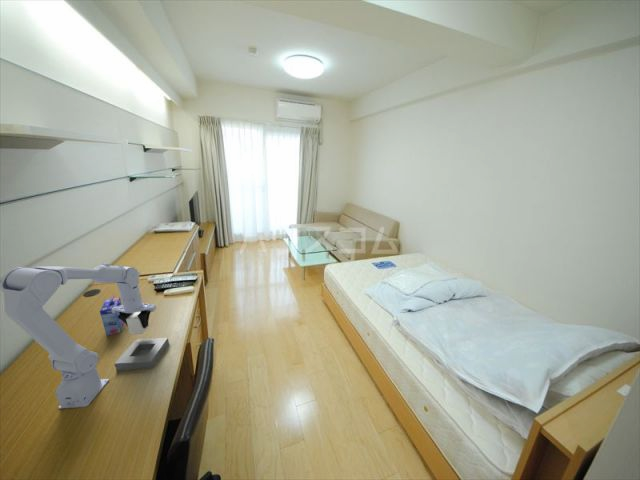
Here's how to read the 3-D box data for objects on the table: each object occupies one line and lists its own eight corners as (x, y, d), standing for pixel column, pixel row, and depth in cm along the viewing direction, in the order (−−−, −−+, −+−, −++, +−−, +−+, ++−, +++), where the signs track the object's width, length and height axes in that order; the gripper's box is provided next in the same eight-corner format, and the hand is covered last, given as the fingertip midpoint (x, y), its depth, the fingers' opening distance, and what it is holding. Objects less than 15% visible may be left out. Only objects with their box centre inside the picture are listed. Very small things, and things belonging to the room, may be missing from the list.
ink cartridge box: (122, 332, 104) (114, 303, 99) (106, 336, 101) (96, 306, 97) (126, 319, 112) (118, 291, 108) (111, 323, 110) (102, 295, 105)
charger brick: (142, 334, 93) (138, 318, 91) (130, 334, 93) (126, 319, 91) (149, 325, 98) (146, 311, 96) (137, 326, 97) (133, 311, 95)
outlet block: (152, 368, 87) (150, 361, 86) (116, 370, 86) (114, 363, 85) (169, 343, 98) (167, 337, 97) (137, 345, 97) (135, 338, 96)
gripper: (157, 290, 95) (163, 319, 99) (117, 291, 93) (125, 321, 98) (147, 300, 88) (154, 331, 93) (104, 301, 87) (113, 333, 91)
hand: (139, 327), depth 95 cm, fingers closed on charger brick, 4 cm apart
